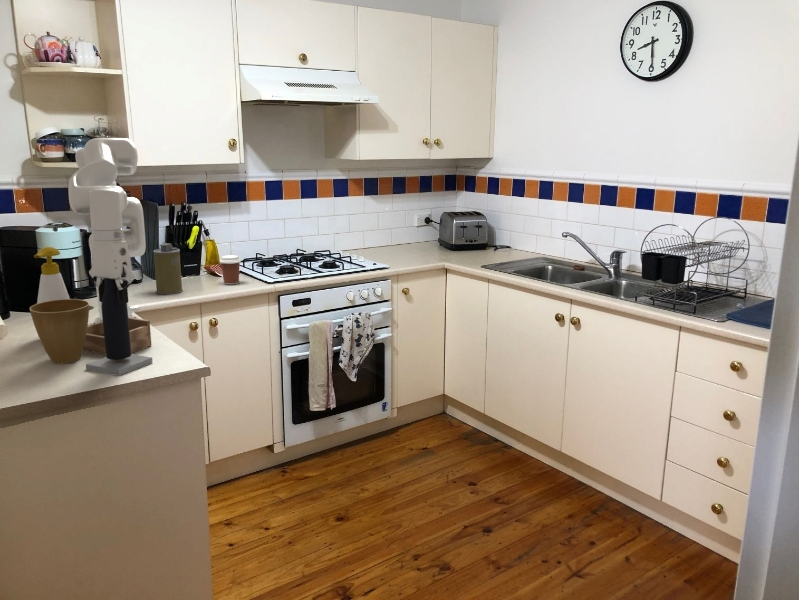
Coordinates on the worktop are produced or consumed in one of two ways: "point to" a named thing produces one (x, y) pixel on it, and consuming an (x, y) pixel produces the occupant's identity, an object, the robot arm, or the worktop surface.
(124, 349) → the black water bottle
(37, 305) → the plant pot
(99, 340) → the wooden box
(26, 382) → the worktop surface
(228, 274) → the coffee cup
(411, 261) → the worktop surface
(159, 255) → the canister
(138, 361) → the tile
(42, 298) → the soap bottle
